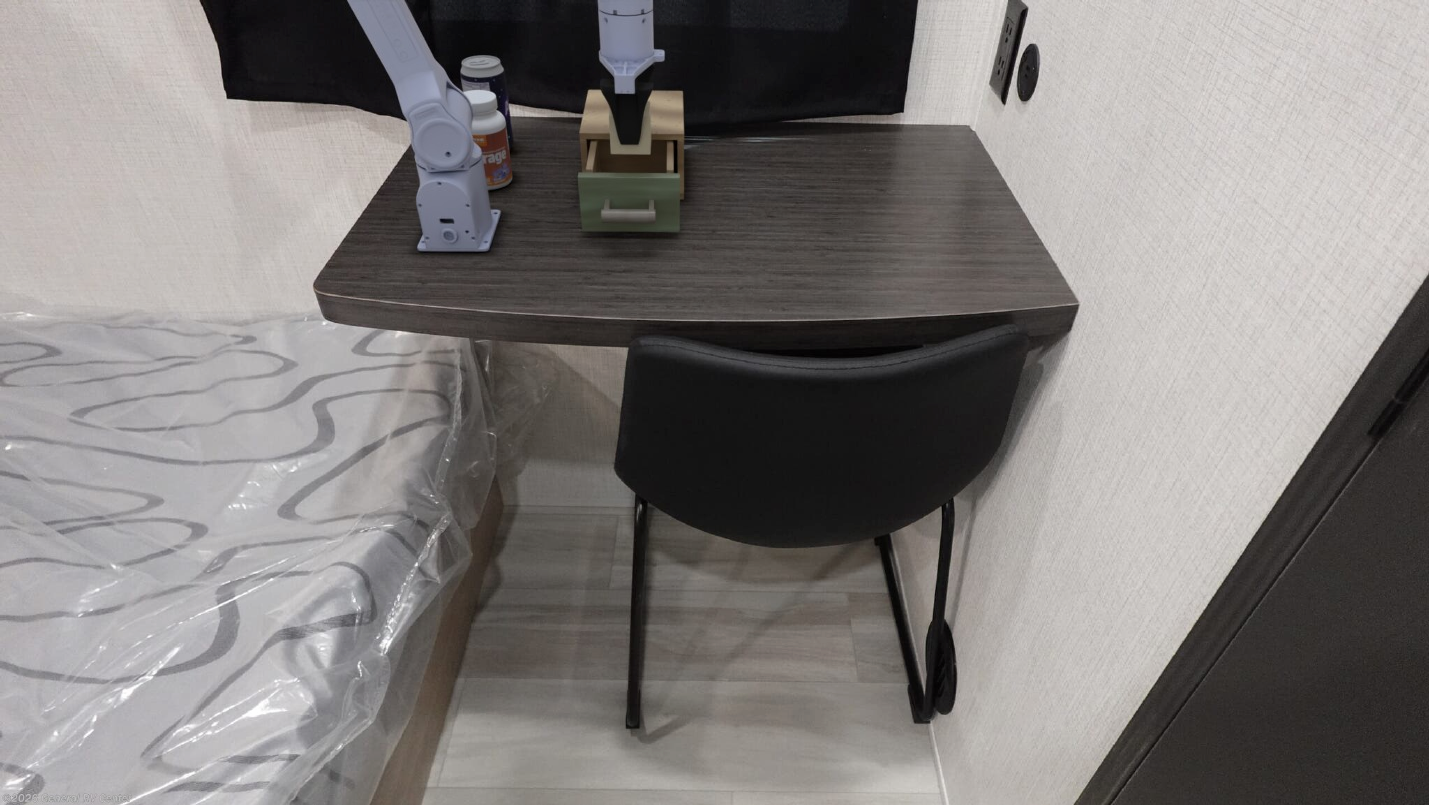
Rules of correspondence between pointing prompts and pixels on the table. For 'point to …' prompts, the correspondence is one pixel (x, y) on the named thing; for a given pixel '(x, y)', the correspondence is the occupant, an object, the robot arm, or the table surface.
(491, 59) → the beverage can
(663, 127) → the cabinet
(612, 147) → the block
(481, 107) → the pill bottle
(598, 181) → the drawer
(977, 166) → the table surface
